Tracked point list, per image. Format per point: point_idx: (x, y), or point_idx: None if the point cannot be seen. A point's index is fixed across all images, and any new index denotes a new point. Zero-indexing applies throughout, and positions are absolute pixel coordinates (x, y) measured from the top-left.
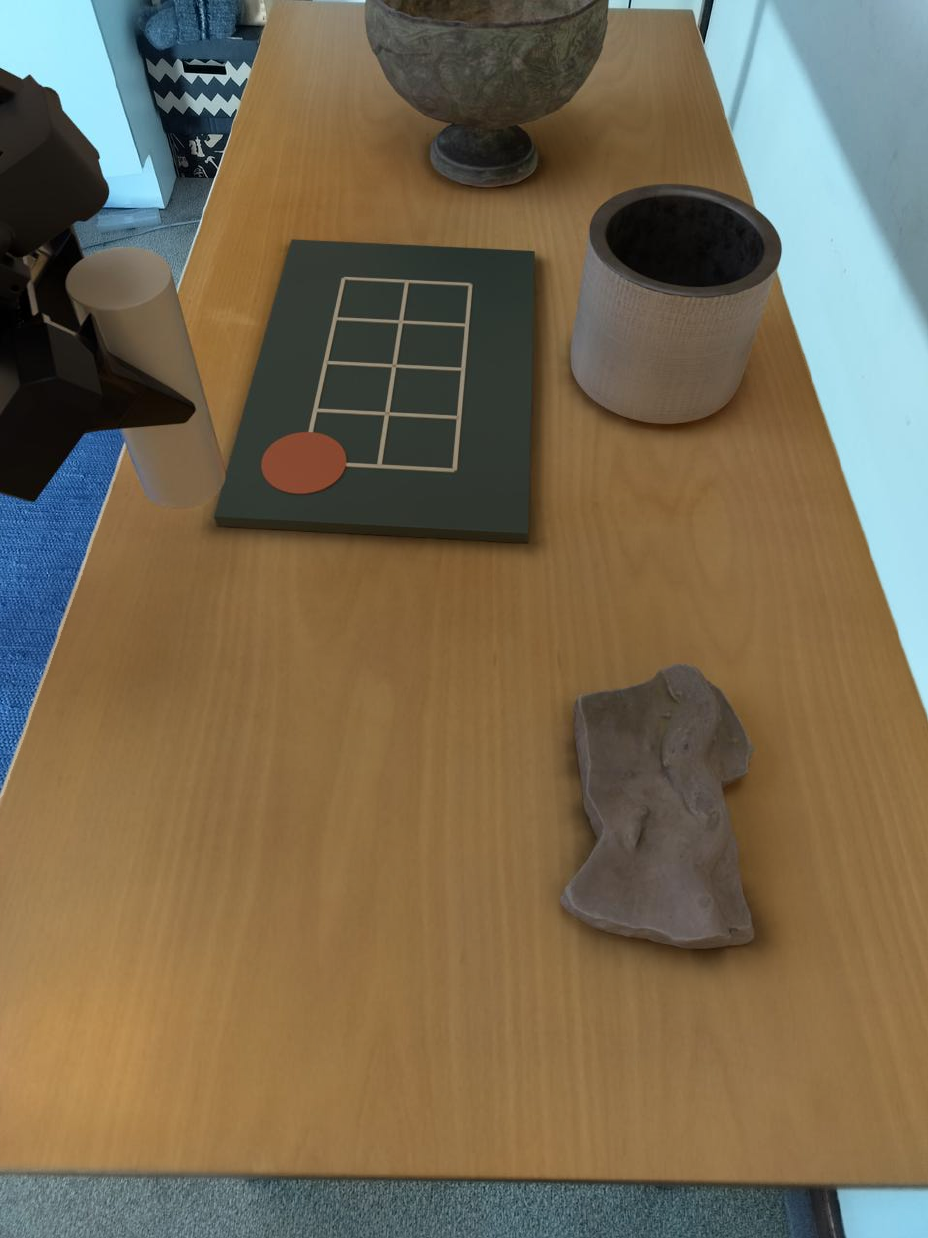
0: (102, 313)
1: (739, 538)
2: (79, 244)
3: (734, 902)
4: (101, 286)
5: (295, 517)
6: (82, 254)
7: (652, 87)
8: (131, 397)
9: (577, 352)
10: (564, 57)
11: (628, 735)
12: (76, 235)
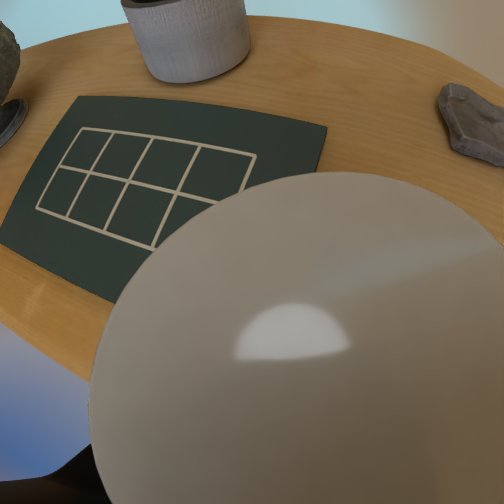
0: None
1: (336, 52)
2: (26, 489)
3: None
4: (415, 498)
5: None
6: (56, 492)
7: (21, 61)
8: None
9: (184, 67)
10: (10, 40)
11: (477, 127)
12: (4, 492)
